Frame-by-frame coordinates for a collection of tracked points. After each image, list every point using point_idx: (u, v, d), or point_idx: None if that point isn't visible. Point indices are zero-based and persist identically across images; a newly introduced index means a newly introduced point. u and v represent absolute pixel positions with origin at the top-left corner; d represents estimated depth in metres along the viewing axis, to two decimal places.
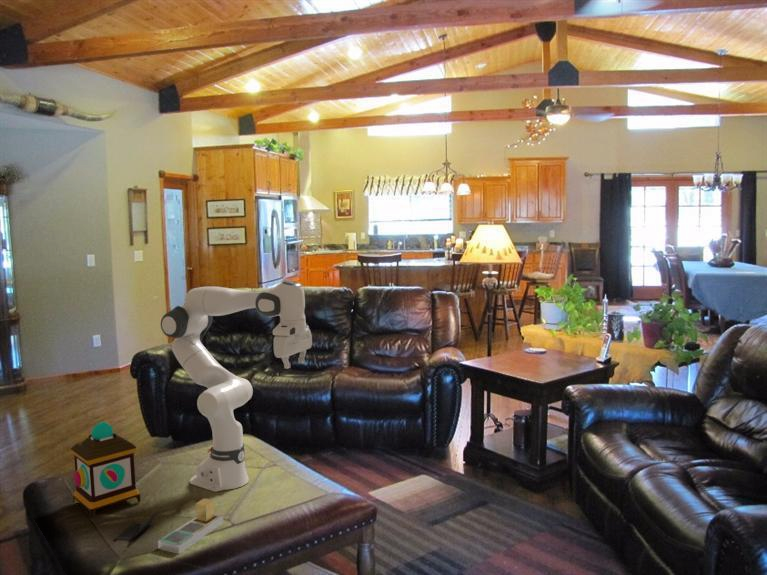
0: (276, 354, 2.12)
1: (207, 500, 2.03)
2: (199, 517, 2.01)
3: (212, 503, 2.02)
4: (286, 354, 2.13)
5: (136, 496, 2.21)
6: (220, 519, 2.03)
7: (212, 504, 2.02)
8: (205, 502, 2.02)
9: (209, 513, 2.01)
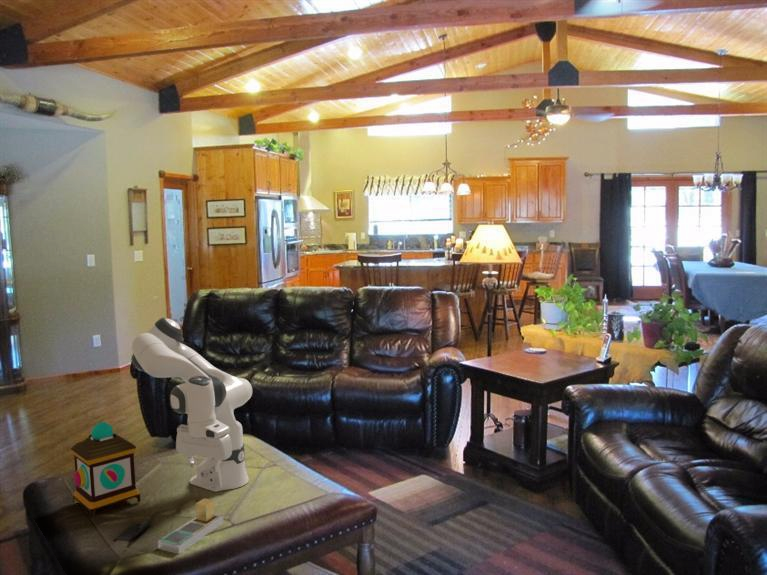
0: (227, 456, 1.96)
1: (207, 500, 2.03)
2: (199, 517, 2.01)
3: (212, 503, 2.02)
4: None
5: (136, 496, 2.21)
6: (220, 519, 2.03)
7: (212, 504, 2.02)
8: (205, 502, 2.02)
9: (209, 513, 2.01)
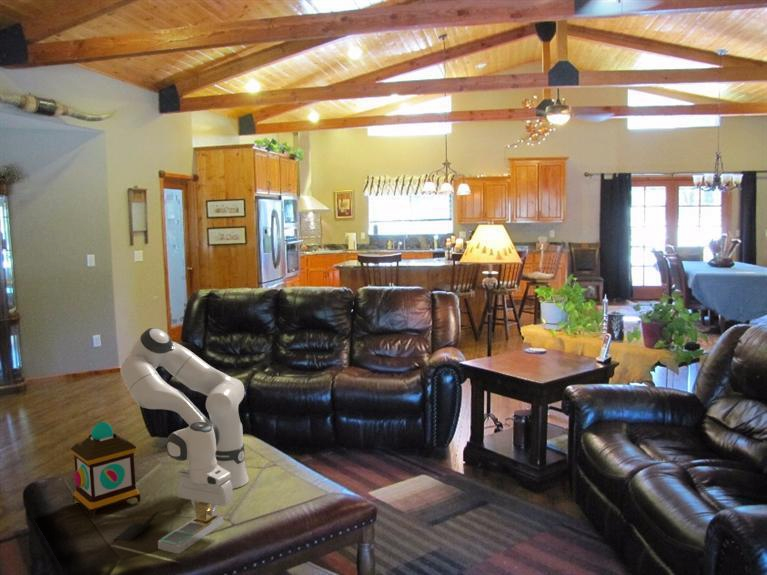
0: (228, 502, 1.97)
1: None
2: (199, 517, 2.01)
3: None
4: None
5: (136, 496, 2.21)
6: (220, 519, 2.03)
7: None
8: None
9: None
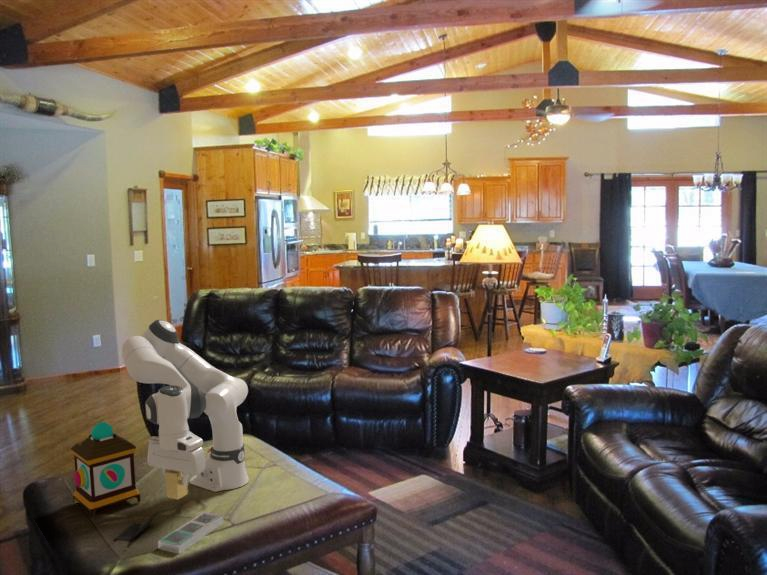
0: (199, 470, 1.86)
1: None
2: (170, 486, 1.90)
3: None
4: None
5: (136, 496, 2.21)
6: (220, 519, 2.03)
7: None
8: (176, 471, 1.91)
9: None
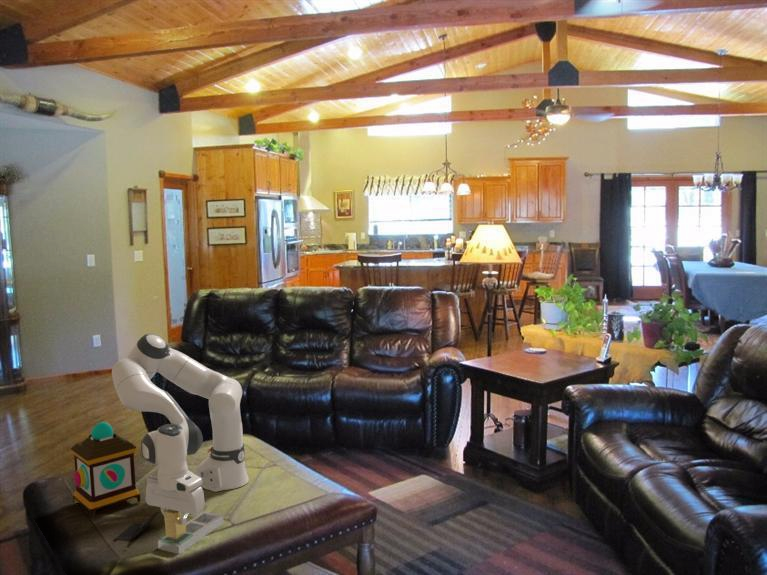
0: (199, 510, 1.85)
1: None
2: (168, 526, 1.88)
3: None
4: None
5: (136, 496, 2.21)
6: (220, 519, 2.03)
7: None
8: (174, 510, 1.89)
9: None
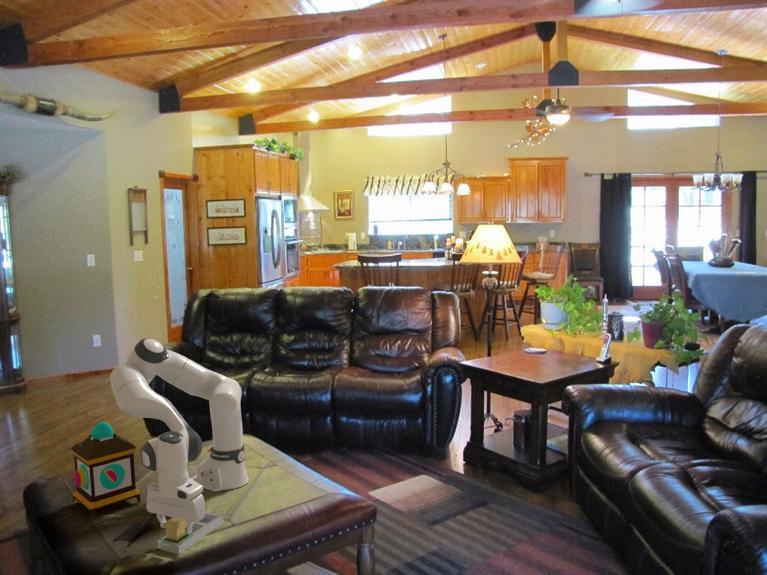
0: (200, 518, 1.85)
1: None
2: (169, 536, 1.89)
3: (183, 521, 1.90)
4: None
5: (136, 496, 2.21)
6: (220, 519, 2.03)
7: (183, 522, 1.90)
8: (175, 520, 1.90)
9: (181, 532, 1.89)
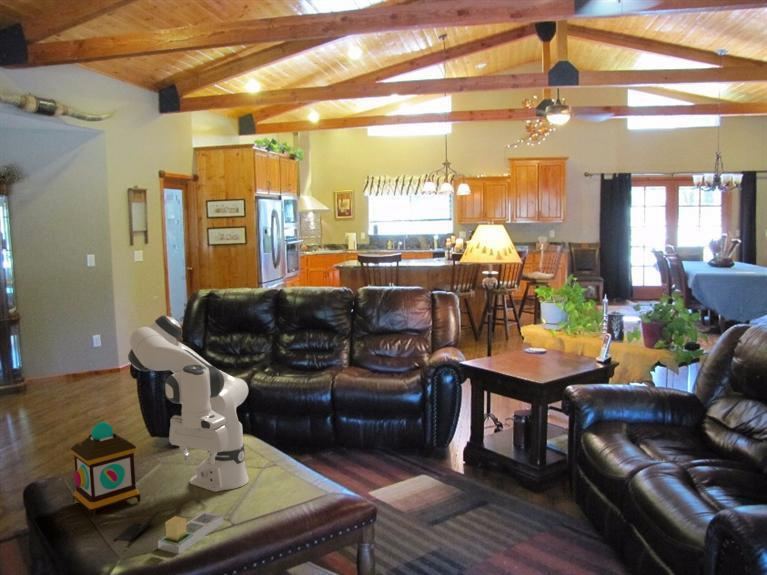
0: (223, 448, 1.88)
1: (178, 518, 1.91)
2: (169, 536, 1.89)
3: (183, 521, 1.90)
4: None
5: (136, 496, 2.21)
6: (220, 519, 2.03)
7: (183, 522, 1.90)
8: (175, 520, 1.90)
9: (181, 532, 1.89)
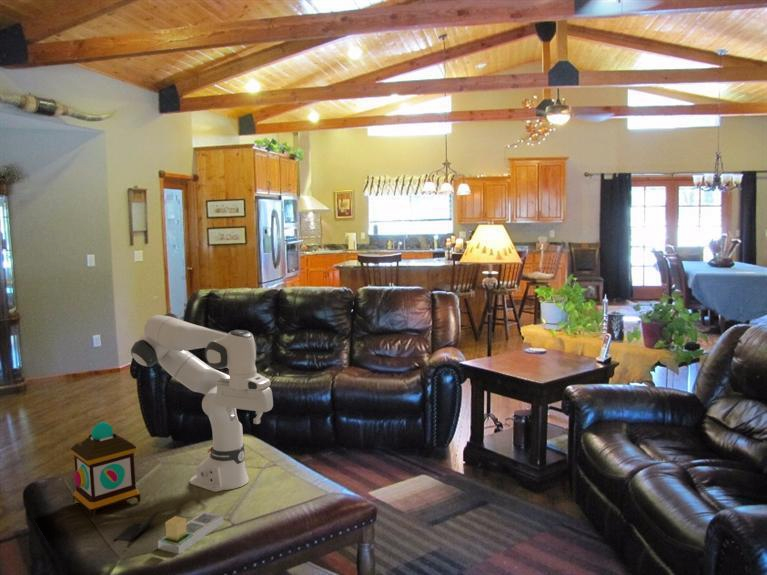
0: (268, 408, 1.97)
1: (178, 518, 1.91)
2: (169, 536, 1.89)
3: (183, 521, 1.90)
4: None
5: (136, 496, 2.21)
6: (220, 519, 2.03)
7: (183, 522, 1.90)
8: (175, 520, 1.90)
9: (181, 532, 1.89)
